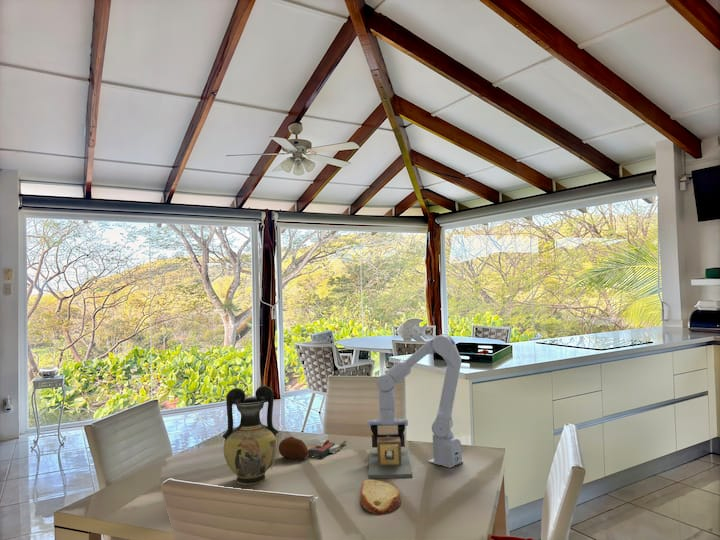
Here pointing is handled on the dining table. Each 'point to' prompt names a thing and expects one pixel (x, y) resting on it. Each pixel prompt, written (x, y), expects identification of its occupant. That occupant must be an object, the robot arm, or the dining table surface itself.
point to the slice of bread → (379, 497)
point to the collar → (386, 448)
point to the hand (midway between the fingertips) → (388, 446)
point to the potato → (293, 448)
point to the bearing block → (388, 442)
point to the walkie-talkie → (324, 448)
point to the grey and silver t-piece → (389, 452)
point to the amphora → (250, 436)
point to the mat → (389, 467)
